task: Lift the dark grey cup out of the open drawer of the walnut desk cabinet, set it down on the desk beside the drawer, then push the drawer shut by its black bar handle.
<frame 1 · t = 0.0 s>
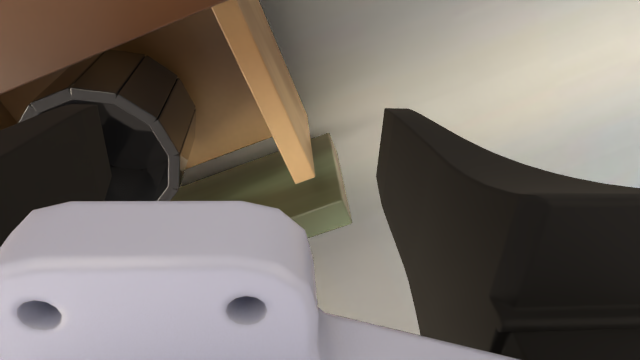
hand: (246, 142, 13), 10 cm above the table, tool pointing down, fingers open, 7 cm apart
drawer: (152, 151, 20), point 4 cm above the table, slide at 8.0 cm, touching dark grey cup
dark grey cup: (133, 107, 20), point 2 cm above the table, touching drawer
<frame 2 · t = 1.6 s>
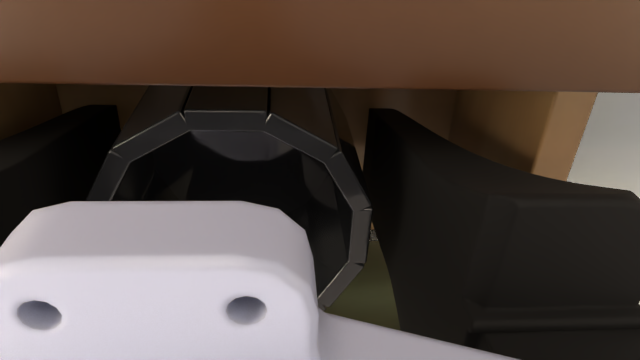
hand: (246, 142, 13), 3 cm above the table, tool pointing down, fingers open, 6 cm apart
drawer: (263, 209, 13), point 4 cm above the table, slide at 8.0 cm, touching dark grey cup, gripper
dark grey cup: (245, 129, 13), point 2 cm above the table, touching drawer
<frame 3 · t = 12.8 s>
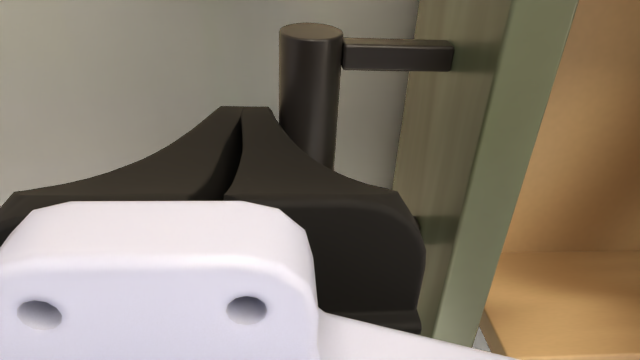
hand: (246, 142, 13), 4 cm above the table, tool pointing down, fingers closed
drawer: (590, 146, 13), point 4 cm above the table, slide at 7.3 cm, touching gripper
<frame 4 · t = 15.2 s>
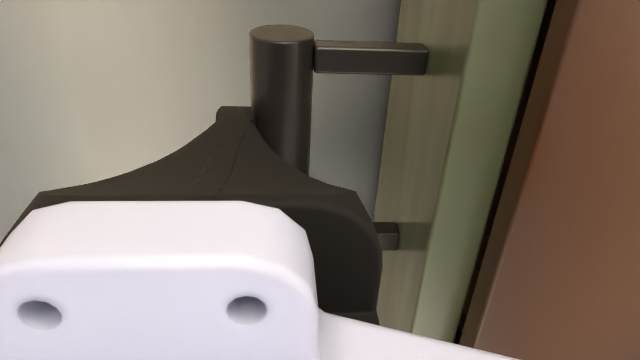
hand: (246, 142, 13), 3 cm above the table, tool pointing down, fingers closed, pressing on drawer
cabinet: (624, 101, 16), on the table
drawer: (574, 152, 13), point 4 cm above the table, slide at 0.0 cm, touching cabinet, gripper
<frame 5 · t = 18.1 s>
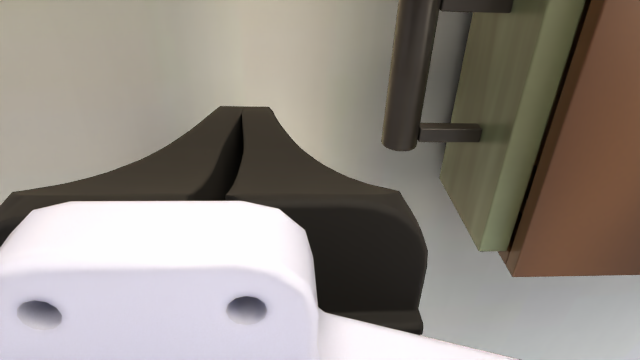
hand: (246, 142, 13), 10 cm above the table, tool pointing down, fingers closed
cabinet: (631, 45, 22), on the table
drawer: (601, 71, 19), point 4 cm above the table, slide at 0.0 cm, touching cabinet
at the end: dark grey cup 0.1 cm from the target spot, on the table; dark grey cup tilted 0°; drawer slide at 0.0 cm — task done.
